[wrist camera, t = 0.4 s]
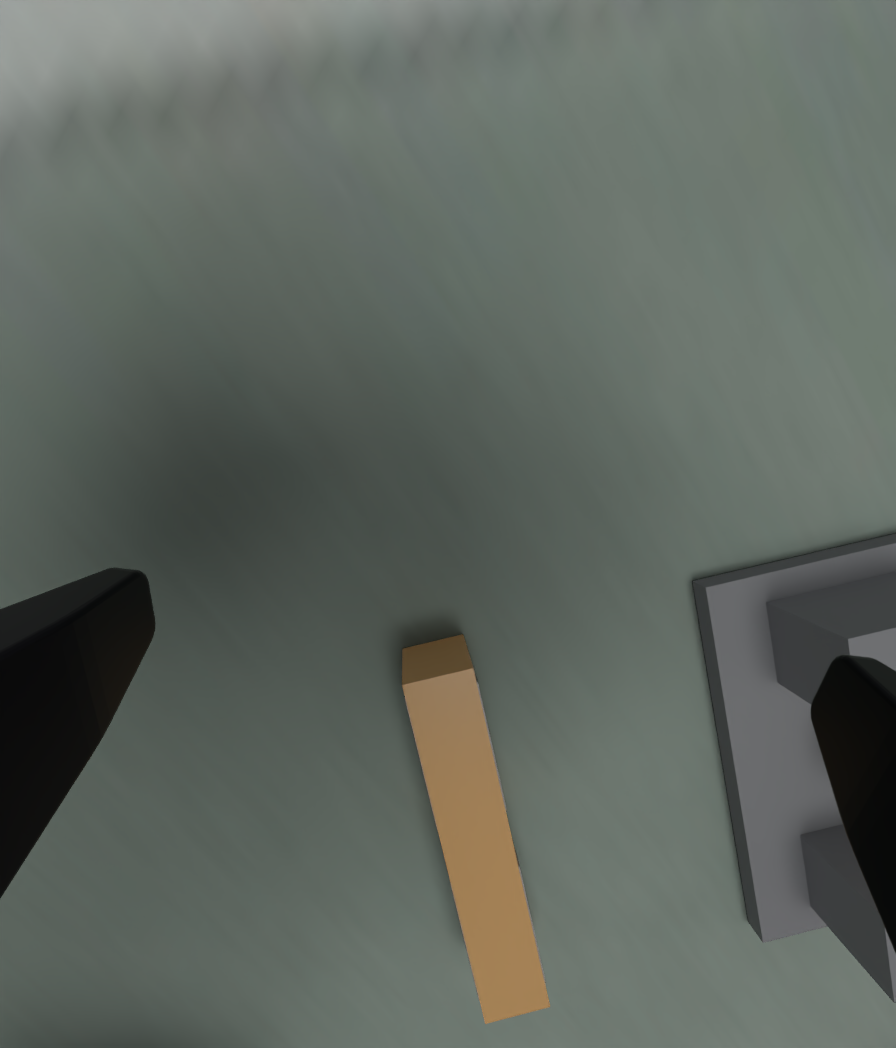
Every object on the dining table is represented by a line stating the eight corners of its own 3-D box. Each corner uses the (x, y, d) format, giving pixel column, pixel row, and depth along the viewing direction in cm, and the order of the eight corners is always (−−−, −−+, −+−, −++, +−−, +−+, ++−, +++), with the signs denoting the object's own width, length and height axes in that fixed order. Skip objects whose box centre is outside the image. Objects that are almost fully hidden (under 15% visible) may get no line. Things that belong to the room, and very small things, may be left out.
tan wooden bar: (530, 924, 24) (551, 1006, 20) (472, 939, 24) (483, 1024, 20) (463, 632, 22) (475, 667, 19) (401, 647, 22) (400, 685, 18)
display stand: (966, 866, 24) (1108, 974, 19) (748, 921, 24) (836, 1046, 19) (930, 525, 22) (1079, 549, 17) (692, 581, 22) (774, 621, 17)
